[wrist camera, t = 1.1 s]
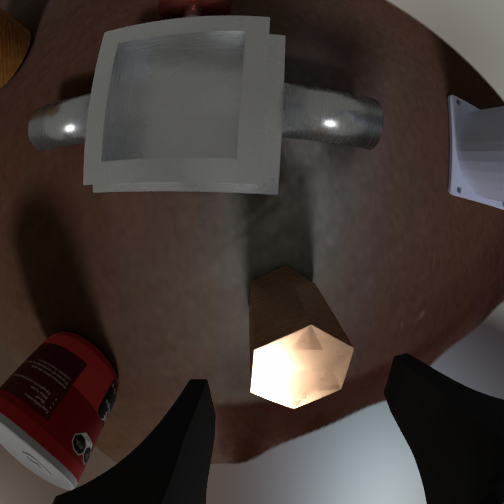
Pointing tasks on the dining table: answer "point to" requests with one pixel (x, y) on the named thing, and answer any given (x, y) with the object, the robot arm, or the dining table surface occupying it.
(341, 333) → the wooden hexagonal prism
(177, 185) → the valve body
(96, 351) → the canned food
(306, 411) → the dining table surface
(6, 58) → the disposable coffee cup
